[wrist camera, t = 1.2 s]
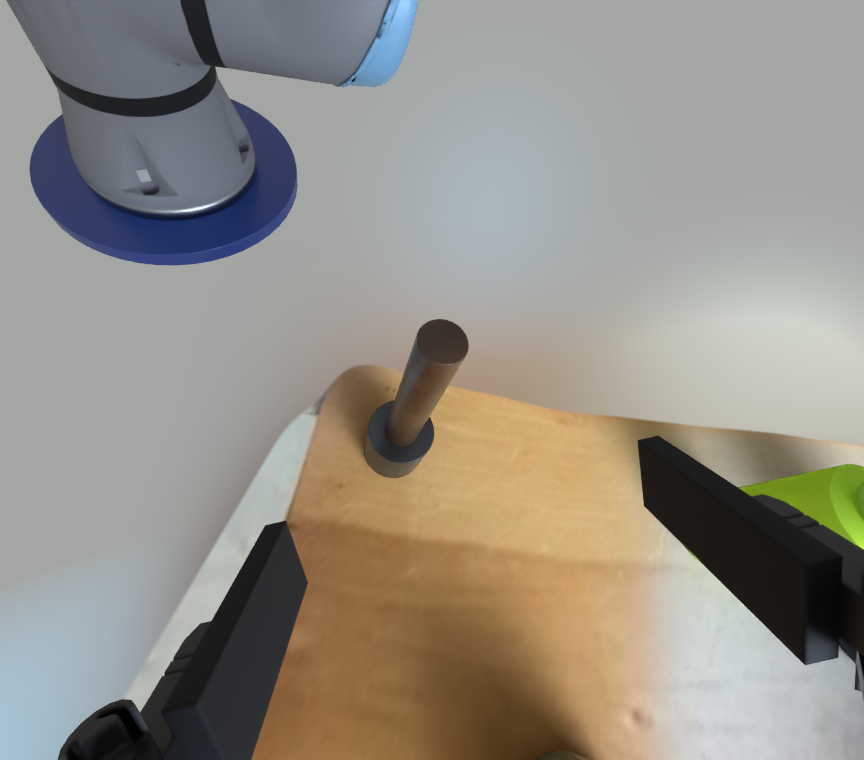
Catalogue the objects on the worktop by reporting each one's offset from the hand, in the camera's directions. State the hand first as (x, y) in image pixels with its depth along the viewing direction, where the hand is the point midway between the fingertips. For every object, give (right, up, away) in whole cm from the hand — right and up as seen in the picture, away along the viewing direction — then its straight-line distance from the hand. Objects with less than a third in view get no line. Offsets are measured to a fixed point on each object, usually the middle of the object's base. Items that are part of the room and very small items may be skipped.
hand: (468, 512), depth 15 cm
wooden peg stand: (-5, -1, +19) cm, 20 cm away
